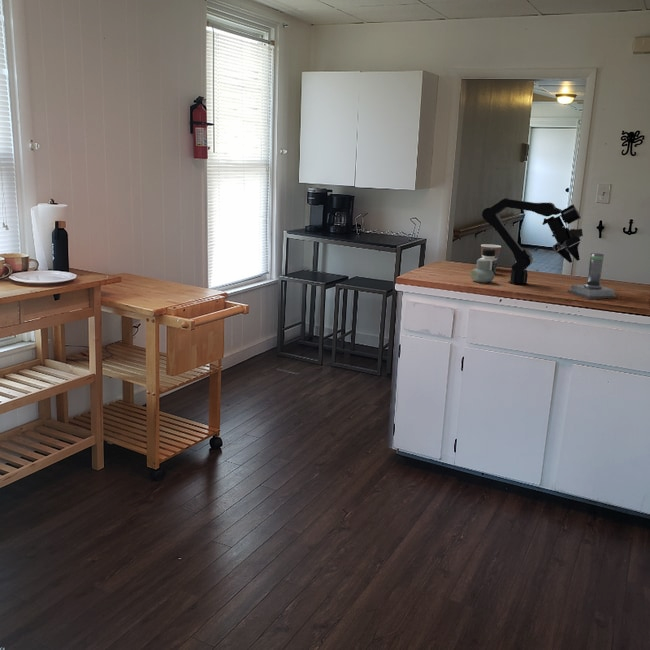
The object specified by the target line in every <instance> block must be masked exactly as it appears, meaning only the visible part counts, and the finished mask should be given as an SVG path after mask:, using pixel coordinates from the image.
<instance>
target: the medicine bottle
mask: <svg viewBox="0 0 650 650" xmlns="http://www.w3.org/2000/svg"><path fill="white" fill-rule="evenodd" d="M482 257H483V258H481V257H480V258H479V259H487V260H490V270H491V271H493V273H495V274H496V273H497V266H498V263H497V259H495V250H494V249H489V248H485V249H483V251H482Z"/></svg>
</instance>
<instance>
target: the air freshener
mask: <svg viewBox="0 0 650 650" xmlns="http://www.w3.org/2000/svg"><path fill="white" fill-rule="evenodd" d="M495 275H496V274H494V273H493V271H491V270H490V260H487V259H480V258H478V259H477V260H476V268H474V269H472V270H471V271H470V278H471V280H473V281H474V282H475V283H482V284H484V283H485V284H488V283H490V282H492V281H493V280H494V279H495Z"/></svg>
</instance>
